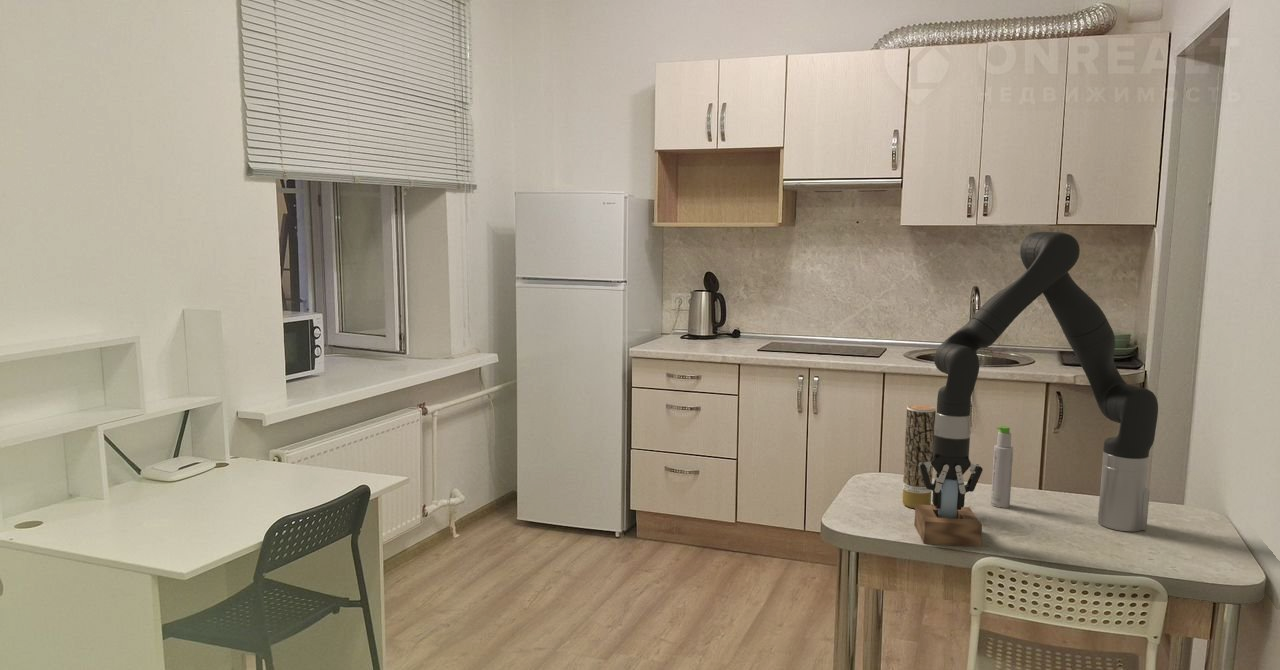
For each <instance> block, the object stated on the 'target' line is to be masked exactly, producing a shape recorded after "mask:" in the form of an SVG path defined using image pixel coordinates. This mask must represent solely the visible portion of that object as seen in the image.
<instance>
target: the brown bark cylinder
mask: <svg viewBox="0 0 1280 670" xmlns="http://www.w3.org/2000/svg"><path fill="white" fill-rule="evenodd" d="M936 413H937V407H934V406H932V405H927V404H909V405H907V406H906V419H905V421H906V422H905V438H904V439H905V440H904V442H905V443H904V460H903V462H904V463H903V477H902V478H903V481H902V482H903V483H902V504H903V505H904V506H905V507H908V508H911V509H915V504H919V505H932V492H933V491H932V490H928V489H927V488H926V486H925V485H924V481H923V478H922V475H921V472H920V468H919V465H918V463H919V462H927V461H930V460H931V458H932V456H933V446H934V428H935V419H936ZM933 470H934V467H933V466H930V471H929V472H928V475H929V479H930V482H931V483H932V484H933V472H934V471H933Z"/></svg>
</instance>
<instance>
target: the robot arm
mask: <svg viewBox="0 0 1280 670" xmlns="http://www.w3.org/2000/svg"><path fill="white" fill-rule="evenodd" d="M1019 249H1020V250H1019V256H1020V259H1021V262H1022V264H1023V266H1024V268H1025V269H1026V271H1024V272H1023V274H1022V275H1021V276H1019V277H1018V278H1017V279H1016V280H1015V281H1013V282H1011V284H1009V285H1008V286H1006V287H1005V288H1003V289H1001V290H1000V291H998V292H997V293H996V294H994V295H993V296H991V297H990V298H989V299H988V300H986V302H984V303H983V304H982V306H981V307H980V308H979V309H978V310H977V311H976V312H975V313H974V315H973V316H971V318H970V319H969V320H968V322H967V323H966V324H965V325H963V326H962V327H961V328H959V329H957V330H956V331H955V332H954V333H953V334H951V335H949V337H947V338H946V339H945V340H944V341H943V342H942V343H941V344H940V345H939V346H938V348H937V349H936V352H935V354H934V359H933V361H934V366H935V367H936V369H938V371H940V372H942V373H943V374H945V375H947V379H946V384H945V385H944V386H941V387H940V388H939V389H938V392H937V401H936V417H935V428H934V446H933V456H932V458H931V460H930V461H927V462H919V463H918V465H919V468H920V472H921V475H922V478H923V481H924V485H925V486H926V488H927V489H928V490H932V491H931V492H932V497H931V503H932V505H934V506H935V507H936V509H940V499H941V493H940V489H941V486H942V484H943V482H944V480H945V479H948V478H952V479H957V481H958V486H959V490H958V507H957V510H961V507H965V498H966V497H965V496H966V494H967V493H969V492H970V493H971V492H974V491H975V489H976V487H977V484H978V482H979V479H980V477H981V475H982V473H983V469H984V468H983V467H982V466H981V465H980V464H977V463H976V464H975V463H973V462H971V460H970V458H969V457H970V445H971V434H972V430H971V429H972V428H971V424H972V423H971V422H972V421H971V406H972V395H973V392H974V389H975V387H976V383H977V380H978V376H979V373H980V372H979V371H980V359H979V355H978V353H977V351H978V350H979V349H981V348H987V347H990V346H992V345H993V344H994V343H995V342H997V340H998V339H999V338H1000V337H1001V336H1002V334H1003V333H1004V332H1005V331H1006V330H1007V328H1008V327H1009V326H1011V324H1012V323H1013V322H1014V320H1015V319H1016V318H1017V317H1018V316H1019V315H1020V314H1021V313H1022V312H1023V311H1025V309H1026V308H1027V307H1029V306H1030V305H1031V304H1032V303H1033V302H1034V301H1035V300H1036V299H1037V298H1038V297H1040V296H1041V295H1042V294H1043V296H1044V298H1045V300H1046V302H1047V304H1048V305H1049V307H1050V309H1051V311H1052V313H1053V314H1054V316H1055V319H1056V320H1057V322H1058V324H1059V325H1060V329H1061V331H1062V332H1063V334H1064V336H1065V338H1066V340H1067V342H1068V344H1069V346H1070V348H1071V349H1072V351H1073V353H1074V354H1075V356H1076V358H1077V360H1078V362H1079V364H1080V366H1081V368H1082V370H1083V372H1084V373H1085V376H1086V378H1087V380H1088V382H1089V385H1090V388H1091V390H1092V393H1093V396H1094V398H1095V400H1096V403H1097V406H1098V408H1099V410H1100V412H1101V414H1102V415H1103V416H1104V418H1107V419H1108V420H1109V421H1112V422H1115V423H1118V424H1120V425H1119V430H1118V434H1117V436H1112V437H1108V438H1105V440H1104V443H1103V448H1102V449H1103V450H1102V462H1101V463H1102V465H1101V477H1100V478H1101V479H1100V488H1099V489H1100V491H1099V504H1098V512H1097V515H1098V517H1097V523H1098V524H1099V525H1101V526H1103V527H1105V528H1107V529H1112V530H1116V531H1121V532H1122V531H1123V532H1140V531H1147V529H1148V527H1147V526H1148V516H1149V515H1148V514H1149V505H1150V504H1149V503H1150V492H1151V491H1150V489H1148V488H1147V481H1148V480H1147V479H1148V467H1149V457H1150V451H1151V448H1152V446H1153V445H1154V442H1155V436H1156V429H1157V423H1158V416H1159V403H1158V402H1159V401H1158V398H1157V396H1156V394H1155V393H1154V392H1153V391H1152V390H1150V389H1148V388H1146V387H1141V386H1140V387H1139V386H1136V385H1131V384H1128V383H1127V382H1126V381H1125V380H1124V379H1123V377H1122V376H1121V374H1120V372H1119V371H1118V368H1117V365H1116V364H1115V359H1114V358H1115V357H1114V355H1115V350H1116V349H1115V348H1116V337H1115V333H1114V331H1113V329H1112V326H1111V324H1110V322H1109V321H1108V318H1107V317H1106V315H1105V313H1104V312H1103V311H1104V310H1103V309H1102V308H1101V307H1100V306H1099V305H1098V303H1096V301H1094V300H1093V298H1091V296H1089V295H1088V294H1087V292H1085V291H1084V290H1083V289H1082V288H1081V287H1080V286H1079V285H1078V284H1077V283H1076V281H1074V280H1073V278H1072V276H1071V275H1070V274H1069V272H1070V270H1072V268H1073V267H1074V266H1075V265H1076V264H1077V262H1078V260H1079V257H1080V250H1081V249H1080V245H1079V242H1078V240H1077V239H1076V238H1075V236H1073V235H1071V234H1068V233H1065V232H1058V231H1036V232H1031V233H1030V234H1028V235H1026V236H1025V238H1024V239H1023V240H1022V242H1021V245H1020V248H1019ZM930 466H933V470H935V472H936V473H935V475H934V481H933V482H932V483H931V482H930V479H929V475H928V472H929V471H930ZM968 470H969V472H970V473H971V474H970V476H969V478H968V480H967V482H966V484H965V481H964V474H965V473H966V472H967V471H968Z"/></svg>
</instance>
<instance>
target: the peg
mask: <svg viewBox="0 0 1280 670" xmlns="http://www.w3.org/2000/svg"><path fill="white" fill-rule="evenodd" d="M958 490H959V486H958V481H957V479H952V478H948V479H945V480H944V482H943V484H942V486H941V489H940V493H941V499H940V509H938V518H955V519H957V507H958Z"/></svg>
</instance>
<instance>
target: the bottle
mask: <svg viewBox="0 0 1280 670" xmlns="http://www.w3.org/2000/svg"><path fill="white" fill-rule="evenodd" d="M996 429H998V430H999V431H998V432H997V439H996V440H997V442H996V444H995V445H994V446H993V461H992V463H993V464H992V476H991V477H992V480H991V491H990V492H991V495H990V505H991V506H993V507H995V506H996V508H1000V507H1002V508H1003V509H1005V508H1006V509H1007V508H1009V507H1010V506H1011V505H1010V504H1011V490H1012V489H1011V488H1012V487H1011V486H1012V476H1013V475H1012V474H1013V473H1012V472H1013V460H1014V458H1013V457H1014V447H1013V446H1012V433H1011V431H1010V427H1009V426H1003V425H1002V426H999V427H996Z"/></svg>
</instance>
